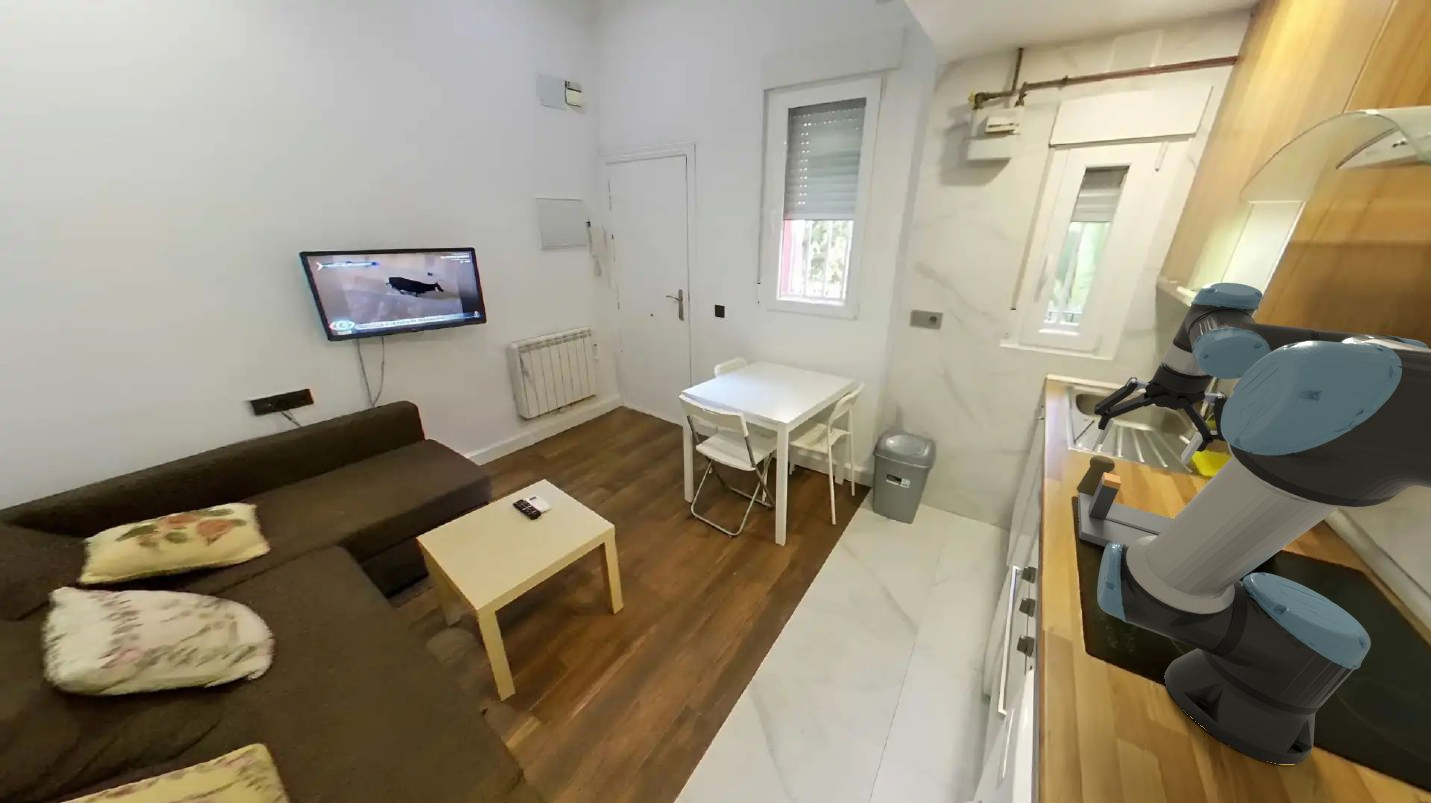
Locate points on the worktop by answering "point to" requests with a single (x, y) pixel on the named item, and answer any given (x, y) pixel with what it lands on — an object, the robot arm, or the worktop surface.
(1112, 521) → the console
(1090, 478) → the cork
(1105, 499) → the fader tab
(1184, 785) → the worktop surface
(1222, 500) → the robot arm
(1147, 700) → the worktop surface
